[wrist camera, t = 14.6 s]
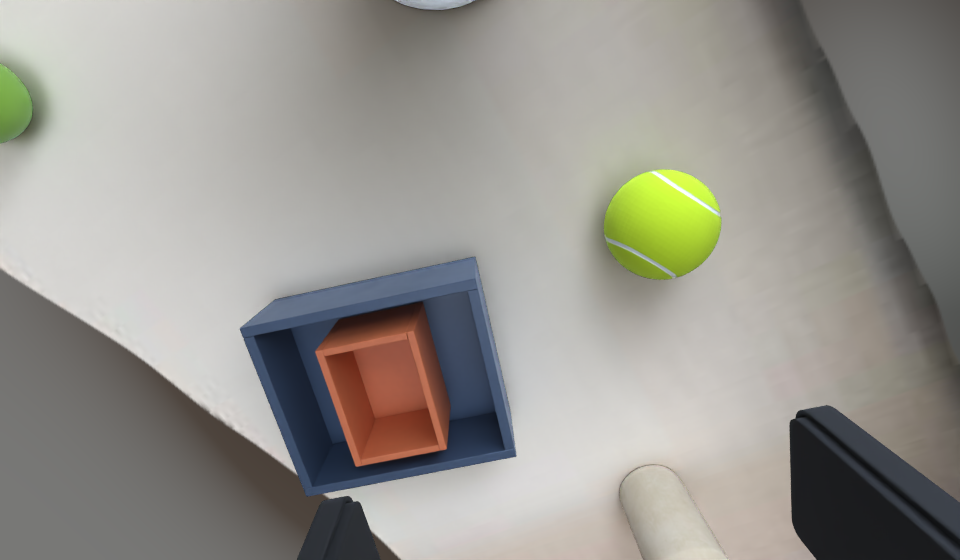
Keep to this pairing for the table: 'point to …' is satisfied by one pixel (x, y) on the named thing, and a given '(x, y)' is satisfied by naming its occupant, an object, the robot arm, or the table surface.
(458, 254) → the table surface
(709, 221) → the tennis ball
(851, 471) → the robot arm
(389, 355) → the small tote
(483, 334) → the big tote
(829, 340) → the table surface
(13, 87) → the snail figurine
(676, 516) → the candle
